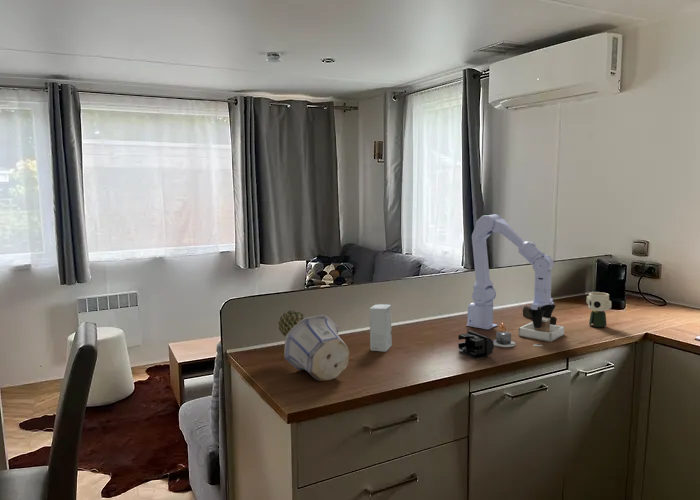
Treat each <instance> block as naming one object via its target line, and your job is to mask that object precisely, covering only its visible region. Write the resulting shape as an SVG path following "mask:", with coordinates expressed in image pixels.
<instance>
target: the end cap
mask: <svg viewBox="0 0 700 500" xmlns="http://www.w3.org/2000/svg"><path fill="white" fill-rule="evenodd" d="M460 340H464V342H459V343H458V344H457V345H458V349H459V350H458V352H459V353H460V354H462V355H464V356H467V357H469V358H471V359H473V358H474V359H473V360H480V359H485V358H487V357H489V355H491V354H492V353H493V351H494V348H495V346H494V343H493V339H492V338H491V337H488V336H485V335H482V334H480V333H478V332H475V331H473V330H467V332H466V333H462V334H458V341H460Z"/></svg>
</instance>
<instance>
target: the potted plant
mask: <svg viewBox="0 0 700 500" xmlns="http://www.w3.org/2000/svg"><path fill="white" fill-rule="evenodd" d="M277 323H278V330H279V332H280V333H281V334H282V336H283V337H285V339H284V351H283V352H284V353H283V354H284V359H285V360H286V361H287V362H288V363H289V364H290V365H292V366H293V368H295V369H296V370H298V371H302V370H303V371H304V370H305V372H307V373H308V374H309V375H310V376H311V377H312V378H313V379H315V380H316V381H319V382H326V381H330V380H331V381H332V380H333V379H336V378H337V377H338V376H339V375H340V374H341V373H342V372H343V371H344V370H346V368H347V366H348V365H349V359H350V349H349V347H348V346H347V344H346V343H345V342H344V340H343V339H342V338H341V337H340V336H339V326H338V325H337V324H336V323H335V321H333V320H332V319H331V318H329V316H327V315H325V314H321V315H314V316H309V317H308V316H307V317H305V316H304V314H303V313H301V312H299V311H297V310H291V309H289V310H287V311H284V313H282V314H281V315H280V317H279V320H278V322H277Z"/></svg>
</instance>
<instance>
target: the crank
mask: <svg viewBox="0 0 700 500" xmlns="http://www.w3.org/2000/svg"><path fill="white" fill-rule="evenodd" d="M506 330H507V327H506V325H504V322H503V321H502V322H500V325H498V331H497V332H496V335H495V336H496V337H495V338H496V339H495V340H496V342H497V343H500V344H510V343H511V341H512V333H511V332H509V331H506Z"/></svg>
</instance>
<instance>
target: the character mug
mask: <svg viewBox="0 0 700 500" xmlns="http://www.w3.org/2000/svg"><path fill="white" fill-rule="evenodd" d="M586 304H587V306H588V309H589V310H590V317H589V323H588V325H589V326H593V327H594V328H595V327H596V328H603V327H606V326H607V316H606V315H607V314H606V311H608V310H611V309H612V300H610V294H609V293H606V292H604V291H603V292H600V291H592V292H589V293H588V295H586Z"/></svg>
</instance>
